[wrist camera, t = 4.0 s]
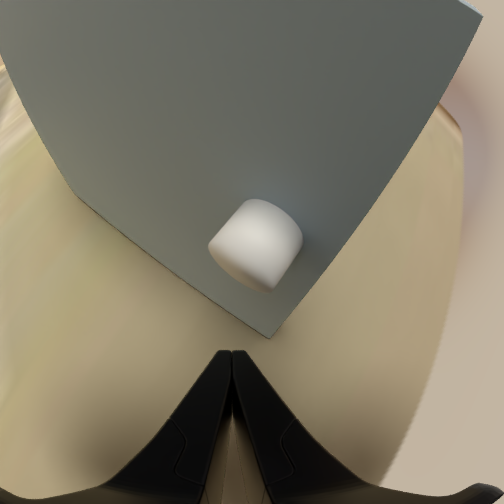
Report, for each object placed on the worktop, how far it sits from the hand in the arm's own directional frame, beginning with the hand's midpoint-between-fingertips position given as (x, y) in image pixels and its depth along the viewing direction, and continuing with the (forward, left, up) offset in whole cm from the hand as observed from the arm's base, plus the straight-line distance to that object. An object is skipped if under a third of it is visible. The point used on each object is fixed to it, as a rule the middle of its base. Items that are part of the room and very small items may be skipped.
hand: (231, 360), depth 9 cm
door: (+8, 0, -7) cm, 11 cm away
